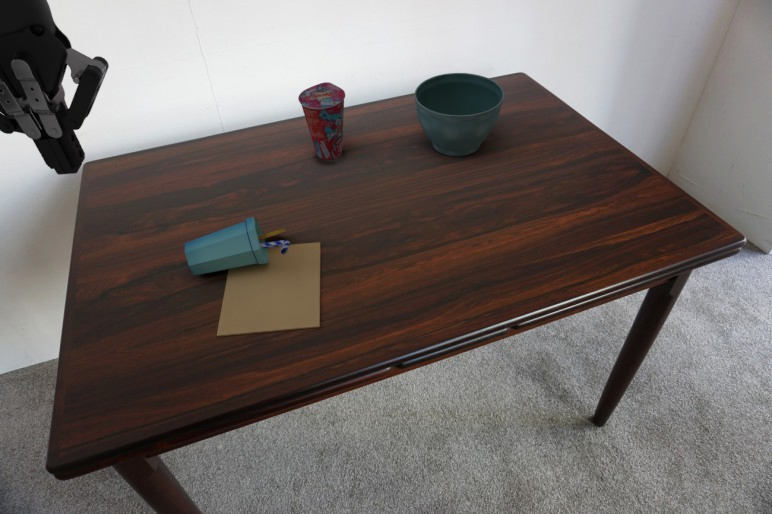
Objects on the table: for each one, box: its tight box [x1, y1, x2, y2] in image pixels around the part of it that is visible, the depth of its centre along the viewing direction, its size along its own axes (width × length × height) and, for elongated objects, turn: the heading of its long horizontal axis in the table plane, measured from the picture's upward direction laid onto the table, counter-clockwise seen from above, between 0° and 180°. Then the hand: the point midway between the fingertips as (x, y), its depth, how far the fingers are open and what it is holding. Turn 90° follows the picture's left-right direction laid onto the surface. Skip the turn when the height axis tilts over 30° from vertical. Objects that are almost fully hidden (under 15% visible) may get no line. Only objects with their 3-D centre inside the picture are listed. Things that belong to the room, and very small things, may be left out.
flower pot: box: [414, 72, 505, 157], centre depth 99 cm, size 16×16×11 cm
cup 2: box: [297, 81, 346, 161], centre depth 98 cm, size 9×8×12 cm
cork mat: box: [216, 241, 321, 338], centre depth 77 cm, size 14×17×1 cm
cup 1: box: [184, 216, 291, 276], centre depth 78 cm, size 14×8×15 cm
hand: (71, 168), depth 46 cm, fingers closed
